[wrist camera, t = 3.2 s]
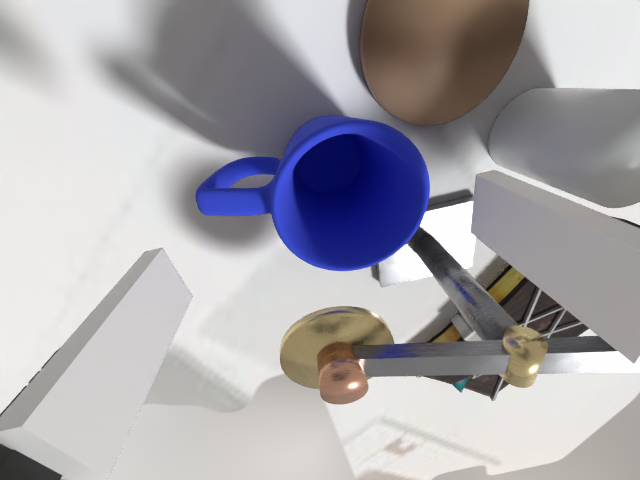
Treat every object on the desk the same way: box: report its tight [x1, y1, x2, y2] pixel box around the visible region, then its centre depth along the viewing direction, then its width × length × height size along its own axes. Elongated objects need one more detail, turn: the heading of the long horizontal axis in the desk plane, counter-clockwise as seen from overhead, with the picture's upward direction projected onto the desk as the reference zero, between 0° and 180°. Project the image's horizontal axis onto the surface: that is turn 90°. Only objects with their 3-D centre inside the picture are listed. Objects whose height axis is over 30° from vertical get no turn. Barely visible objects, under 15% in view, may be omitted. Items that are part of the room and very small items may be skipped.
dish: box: [359, 0, 529, 126], centre depth 18 cm, size 11×11×1 cm
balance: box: [280, 195, 640, 404], centre depth 20 cm, size 8×30×16 cm, turn 102°
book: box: [416, 265, 589, 401], centre depth 34 cm, size 22×17×5 cm
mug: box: [196, 115, 430, 271], centre depth 17 cm, size 8×12×10 cm
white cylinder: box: [488, 88, 640, 208], centre depth 19 cm, size 6×6×9 cm
